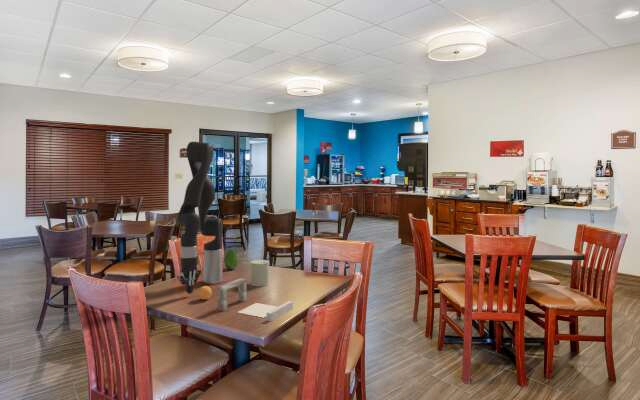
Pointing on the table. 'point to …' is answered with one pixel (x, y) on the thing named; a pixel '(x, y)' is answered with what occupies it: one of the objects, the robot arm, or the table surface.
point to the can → (260, 273)
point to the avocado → (231, 259)
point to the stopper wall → (279, 310)
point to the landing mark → (257, 310)
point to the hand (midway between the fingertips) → (189, 293)
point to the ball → (204, 292)
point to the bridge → (223, 288)
